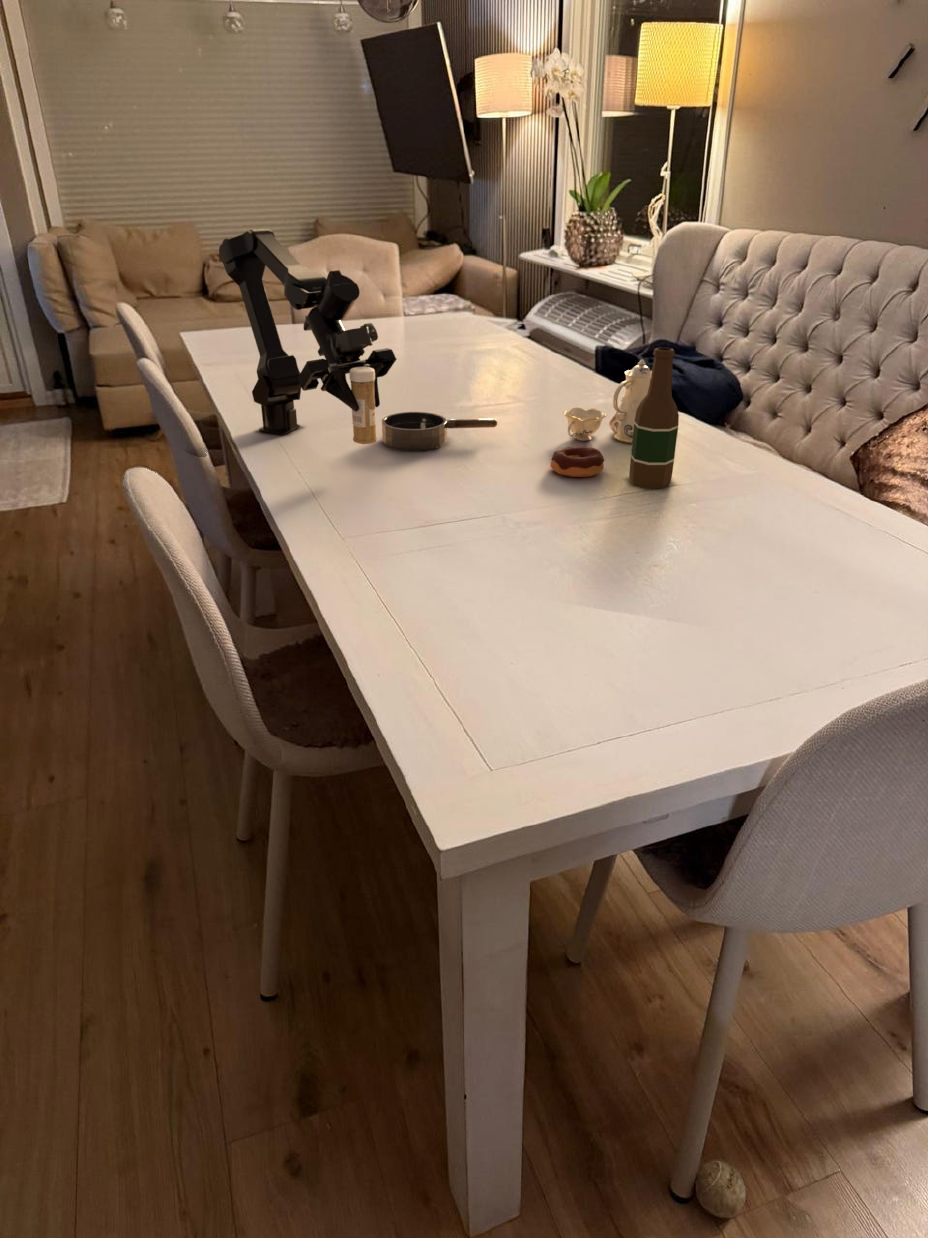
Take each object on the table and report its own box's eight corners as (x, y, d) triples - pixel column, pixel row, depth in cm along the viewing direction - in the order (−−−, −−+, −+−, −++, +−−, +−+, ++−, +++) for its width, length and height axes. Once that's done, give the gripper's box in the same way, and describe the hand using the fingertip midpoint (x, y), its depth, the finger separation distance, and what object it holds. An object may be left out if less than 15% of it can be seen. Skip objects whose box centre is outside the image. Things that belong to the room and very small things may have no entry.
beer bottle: (673, 477, 167) (690, 345, 156) (668, 491, 160) (684, 354, 149) (632, 472, 169) (645, 342, 158) (624, 486, 163) (638, 351, 151)
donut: (543, 476, 167) (544, 455, 165) (557, 460, 175) (558, 440, 173) (597, 482, 164) (598, 461, 162) (608, 466, 172) (610, 446, 170)
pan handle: (445, 429, 184) (445, 420, 183) (444, 427, 185) (444, 418, 184) (497, 428, 185) (498, 419, 184) (496, 425, 186) (496, 417, 186)
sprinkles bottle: (381, 442, 168) (379, 369, 161) (359, 446, 165) (356, 372, 159) (369, 435, 171) (367, 364, 164) (348, 439, 169) (344, 367, 162)
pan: (383, 452, 179) (382, 430, 177) (381, 433, 190) (380, 412, 188) (449, 450, 180) (449, 428, 178) (443, 431, 192) (443, 410, 189)
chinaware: (632, 421, 205) (632, 346, 198) (695, 429, 194) (698, 349, 187) (552, 447, 188) (550, 365, 181) (617, 457, 177) (617, 371, 170)
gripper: (301, 314, 154) (340, 391, 152) (389, 303, 165) (427, 375, 163) (282, 352, 163) (318, 426, 161) (366, 339, 174) (401, 408, 172)
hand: (367, 408), depth 164 cm, fingers closed on sprinkles bottle, 4 cm apart
